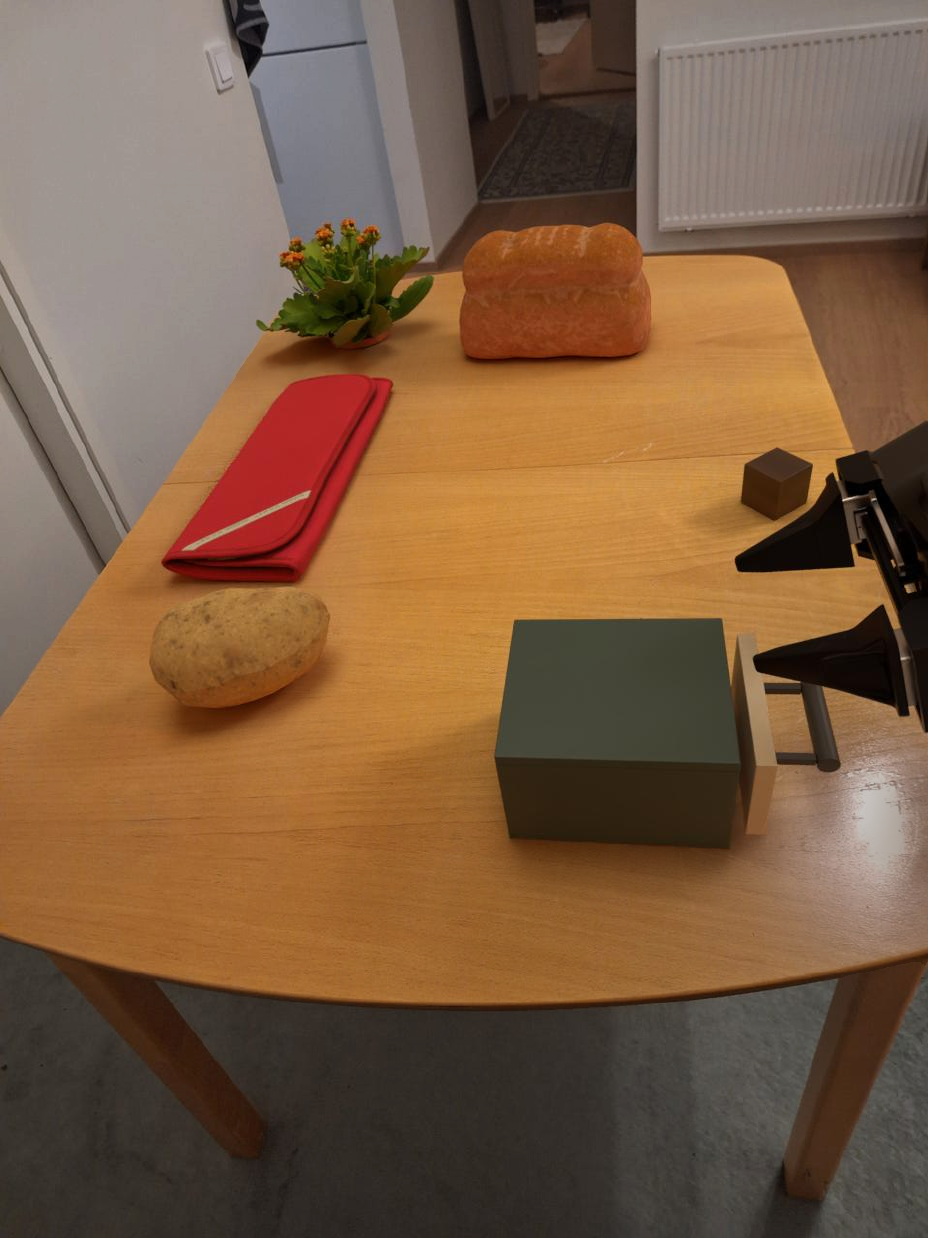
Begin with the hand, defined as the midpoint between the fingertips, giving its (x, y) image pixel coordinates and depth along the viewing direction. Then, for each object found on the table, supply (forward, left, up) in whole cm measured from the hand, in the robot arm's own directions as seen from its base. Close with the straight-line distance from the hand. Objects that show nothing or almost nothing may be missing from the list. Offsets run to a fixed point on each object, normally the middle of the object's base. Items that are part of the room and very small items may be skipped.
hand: (744, 611), depth 49 cm
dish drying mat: (+46, -41, -14) cm, 63 cm away
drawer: (+3, +2, -13) cm, 13 cm away
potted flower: (+47, -80, -14) cm, 94 cm away
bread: (+17, -72, -14) cm, 76 cm away
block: (-7, -31, -14) cm, 35 cm away
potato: (+39, -6, -14) cm, 42 cm away
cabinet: (+8, +2, -14) cm, 16 cm away
